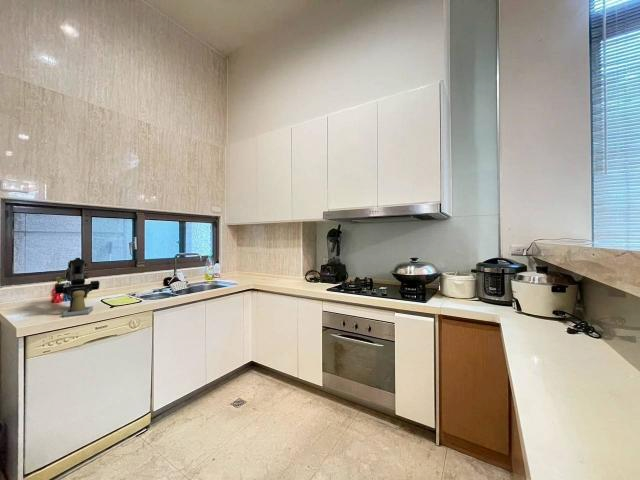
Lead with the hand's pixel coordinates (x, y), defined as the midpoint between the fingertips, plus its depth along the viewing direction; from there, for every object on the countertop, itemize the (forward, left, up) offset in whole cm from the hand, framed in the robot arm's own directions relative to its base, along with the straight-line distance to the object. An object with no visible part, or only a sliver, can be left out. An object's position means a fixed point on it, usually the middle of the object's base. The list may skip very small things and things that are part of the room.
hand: (78, 298), depth 146 cm
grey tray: (-1, 0, -9) cm, 9 cm away
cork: (-1, 0, -7) cm, 7 cm away
